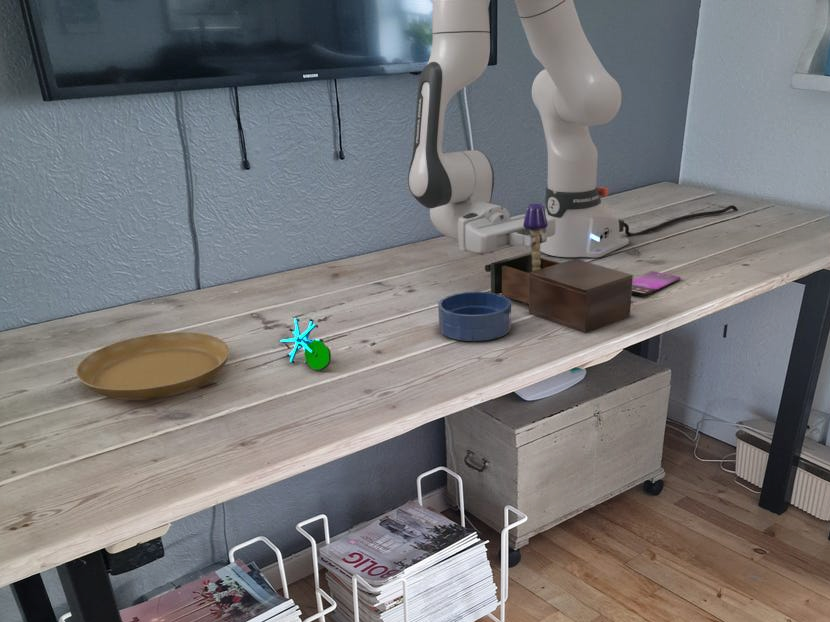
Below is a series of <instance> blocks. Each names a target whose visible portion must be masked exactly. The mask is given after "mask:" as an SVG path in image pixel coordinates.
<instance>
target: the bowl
mask: <svg viewBox="0 0 830 622" xmlns="http://www.w3.org/2000/svg"><path fill="white" fill-rule="evenodd" d="M437 311H438V329H439V333H441V334H442V335H443V336H445V337H447V338H450V339H452V340H453V339H454V340H457V341H465V342H482V341H490V340H494V339H497V338H501V337H504V336H505V335H507V334H508V333H510V331H511V329H512V302H511V300H510V299H509V297H507V296H504V295H502V294H495V293H491V292H487V291H465V292H458V293H454V294H450V295H447V296H445V297H443V298H441V299H440V300H439V301H438V303H437Z"/></svg>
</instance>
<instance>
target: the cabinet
mask: <svg viewBox="0 0 830 622" xmlns="http://www.w3.org/2000/svg"><path fill="white" fill-rule="evenodd" d="M633 279H634V275H633V274H631V273H627V272H624V271H621V270H617V269H614V268H609V267H607V266H603V265H600V264H595V263H592V262H588V261H585V260H581V259H577V258H573V259H570V260H566V261H563V262H560V263H559V264H556V265H553V266H549V267H546V268H542V269H539V270H536V271H532V272H530V277H529V304H528V314H529V315H533V316H536V317H537V318H538V317H539V318H541V319H544V320H547V321H550V322H553V323H556V324H558V325H561V326H564V327H567V328H570V329H572V330H575V331H578V332H581V333H584V334H586V333H588V332H592V331H594V330H597V329H601V328H602V327H605V326H608V325H611V324H614V323H616V322H619V321H621V320H624V319H626V318H629V317H631V304H632V294H633V293H632V280H633Z"/></svg>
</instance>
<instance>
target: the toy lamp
mask: <svg viewBox="0 0 830 622" xmlns="http://www.w3.org/2000/svg"><path fill="white" fill-rule="evenodd" d="M524 214H525V219H524V224H523V226H524V228H526V229H531V234H532V236H535V237H536V240H535V242H536V244H535V245H533V246H530V248H531V252H532V254H531V255H532V258H533V259H532V266H533V267H532V271H536V270H539V269H541V268H540V264H541V261H540V257H542V256H541V255H542V254H541V251H540V243H539V242H540V235H539V234H540V229H543V228H546V227H547V225H548V224H547V219H546V215H545V208H544V206H543V205H542V204H541V203H530V204H528V205H527V207H526V209H525V213H524Z"/></svg>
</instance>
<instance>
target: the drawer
mask: <svg viewBox="0 0 830 622" xmlns="http://www.w3.org/2000/svg"><path fill="white" fill-rule="evenodd" d="M531 254H532V251H531V252H526V253H523V254H519V255H516V256H512V257H509V258H504V259H501V260H498V261H494V262H490V263H489V264H486V265H485V266H484V271H485V272H486V273H489V272H490V293H495V294H499V295H502V296H505V297H506V298H511V299H513V300H517V301H519V302H522V303H525V304H528V305H529V277H530V272H532V267H533V266H532V259H533V258H532V255H531ZM540 261H541V264H540V268H541V269H542V268H546V267H549V266H553V265H556V264H559V263H561V262H559V261H556V260H552V259H549V258H546V257H544V256H543V257H542V256H540Z"/></svg>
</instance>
